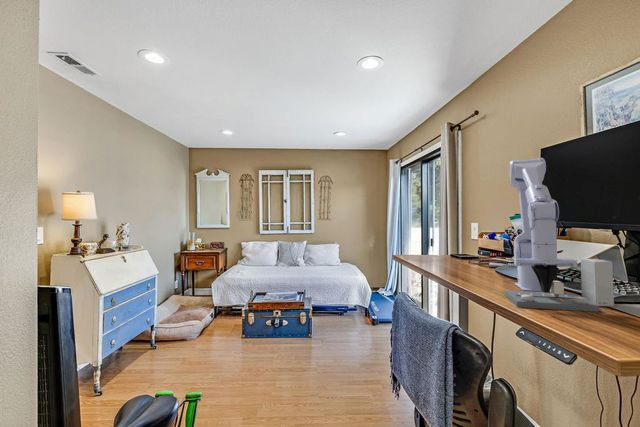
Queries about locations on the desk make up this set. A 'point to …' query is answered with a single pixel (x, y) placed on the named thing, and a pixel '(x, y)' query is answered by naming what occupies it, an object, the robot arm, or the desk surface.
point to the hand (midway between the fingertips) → (545, 291)
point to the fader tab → (557, 288)
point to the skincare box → (597, 281)
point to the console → (550, 300)
